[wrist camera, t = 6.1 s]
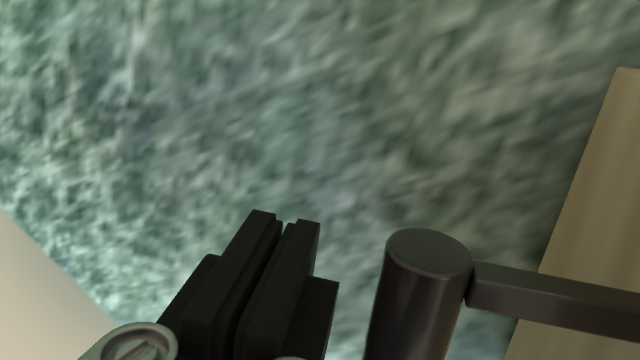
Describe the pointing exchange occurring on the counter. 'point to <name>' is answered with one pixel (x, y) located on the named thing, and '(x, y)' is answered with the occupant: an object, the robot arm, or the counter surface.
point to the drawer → (553, 274)
